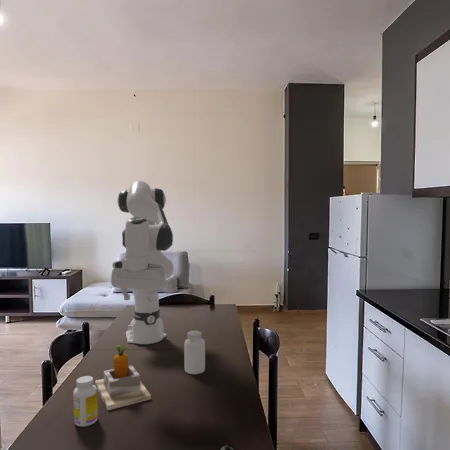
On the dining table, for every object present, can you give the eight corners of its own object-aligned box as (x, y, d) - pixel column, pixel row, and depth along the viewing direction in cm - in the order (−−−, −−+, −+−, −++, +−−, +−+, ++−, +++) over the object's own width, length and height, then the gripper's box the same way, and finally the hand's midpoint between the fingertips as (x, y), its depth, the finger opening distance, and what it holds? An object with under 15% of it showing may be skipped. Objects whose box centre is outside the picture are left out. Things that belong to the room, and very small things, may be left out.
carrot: (122, 382, 138) (121, 340, 137) (131, 386, 135) (130, 343, 134) (111, 387, 134) (109, 344, 133) (120, 391, 131) (118, 347, 130)
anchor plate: (95, 384, 140) (94, 367, 139) (133, 376, 146) (133, 359, 146) (107, 410, 122) (107, 390, 122) (150, 399, 129) (150, 380, 129)
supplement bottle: (100, 415, 120) (99, 374, 119) (94, 427, 113) (93, 384, 112) (78, 415, 119) (77, 374, 119) (70, 428, 113) (69, 384, 112)
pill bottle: (186, 376, 146) (186, 336, 145) (183, 367, 154) (182, 330, 153) (207, 373, 148) (206, 334, 147) (202, 365, 156) (202, 328, 155)
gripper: (168, 263, 140) (168, 300, 141) (118, 260, 145) (118, 296, 147) (160, 266, 133) (161, 305, 135) (108, 263, 139) (109, 301, 141)
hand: (138, 300), depth 141 cm, fingers open, 8 cm apart
